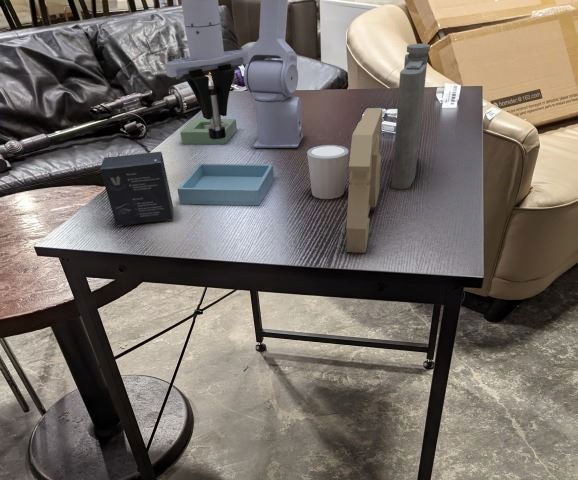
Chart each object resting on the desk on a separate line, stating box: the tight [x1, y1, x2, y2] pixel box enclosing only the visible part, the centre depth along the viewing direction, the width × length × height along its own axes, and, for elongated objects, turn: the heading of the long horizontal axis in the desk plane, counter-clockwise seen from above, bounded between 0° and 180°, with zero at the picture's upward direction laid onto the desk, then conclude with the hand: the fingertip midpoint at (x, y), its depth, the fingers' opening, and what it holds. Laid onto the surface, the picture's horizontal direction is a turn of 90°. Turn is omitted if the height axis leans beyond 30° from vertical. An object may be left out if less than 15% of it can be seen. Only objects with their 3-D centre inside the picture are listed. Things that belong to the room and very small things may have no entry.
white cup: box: [306, 144, 350, 200], centre depth 89 cm, size 7×7×7 cm
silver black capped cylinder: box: [204, 85, 228, 139], centre depth 93 cm, size 4×4×8 cm
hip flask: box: [391, 43, 431, 190], centre depth 90 cm, size 16×4×20 cm, turn 167°
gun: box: [346, 107, 383, 254], centre depth 78 cm, size 24×3×15 cm, turn 168°
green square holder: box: [180, 118, 238, 145], centre depth 118 cm, size 10×10×2 cm
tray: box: [176, 163, 275, 206], centre depth 94 cm, size 14×12×3 cm
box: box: [99, 151, 174, 228], centre depth 84 cm, size 9×6×10 cm, turn 99°
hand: (215, 116), depth 93 cm, fingers closed on silver black capped cylinder, 2 cm apart
